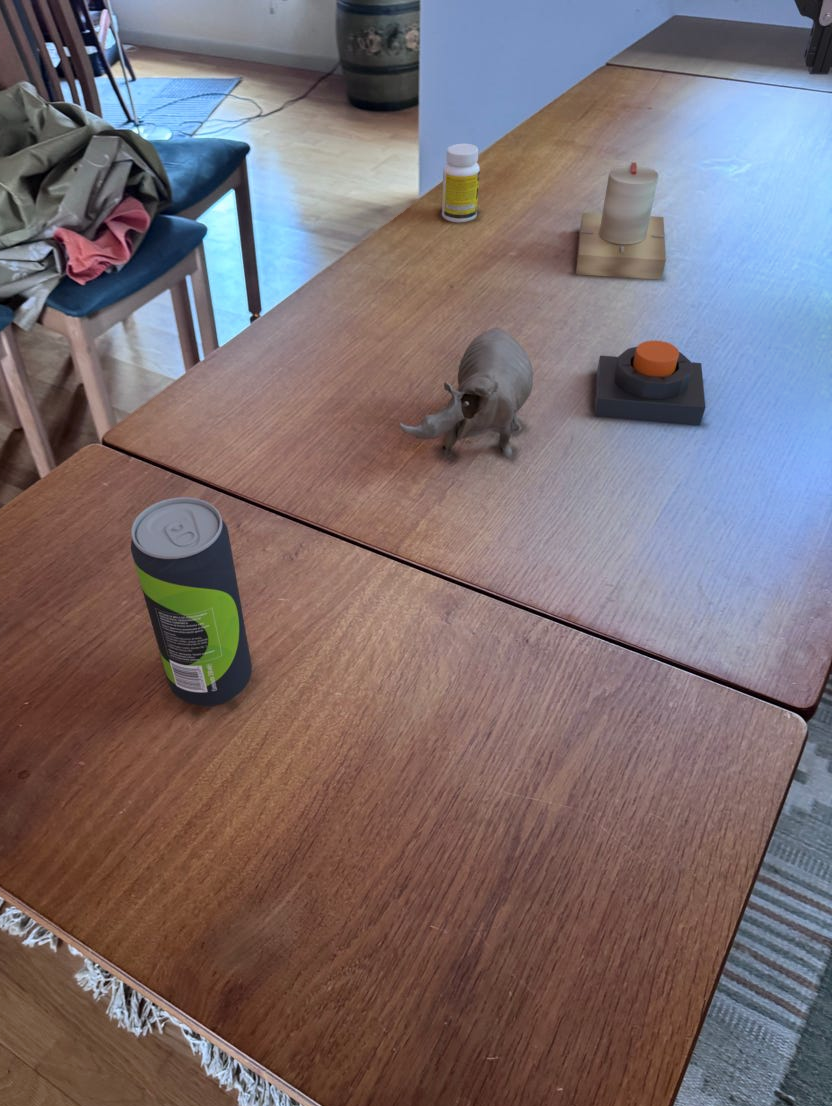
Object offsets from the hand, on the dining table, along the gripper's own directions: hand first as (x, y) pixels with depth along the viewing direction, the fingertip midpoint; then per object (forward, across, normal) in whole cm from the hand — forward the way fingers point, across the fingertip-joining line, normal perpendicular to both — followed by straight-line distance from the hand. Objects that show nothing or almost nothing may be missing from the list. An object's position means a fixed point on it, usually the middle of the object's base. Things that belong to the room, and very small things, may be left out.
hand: (817, 71), depth 81 cm
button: (+21, -10, -15) cm, 28 cm away
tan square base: (+25, -13, +17) cm, 33 cm away
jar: (+22, -13, +17) cm, 31 cm away
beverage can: (+25, -42, -58) cm, 76 cm away
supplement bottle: (+25, -34, +26) cm, 50 cm away
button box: (+25, -10, -15) cm, 31 cm away
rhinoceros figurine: (+25, -26, -25) cm, 44 cm away
